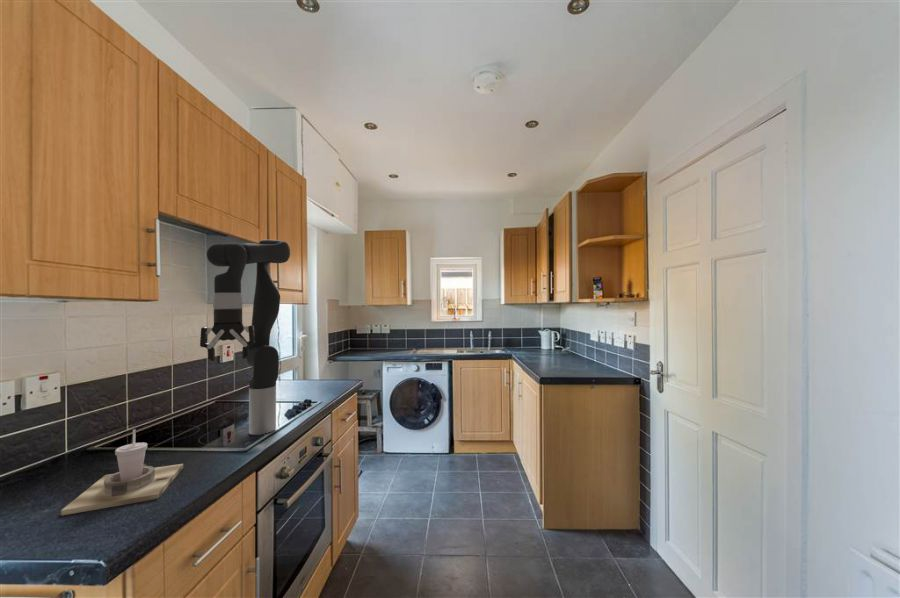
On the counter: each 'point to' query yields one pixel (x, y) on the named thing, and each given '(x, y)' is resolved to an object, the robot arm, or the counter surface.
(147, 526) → the counter surface
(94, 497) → the holder
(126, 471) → the smoothie
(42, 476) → the counter surface
